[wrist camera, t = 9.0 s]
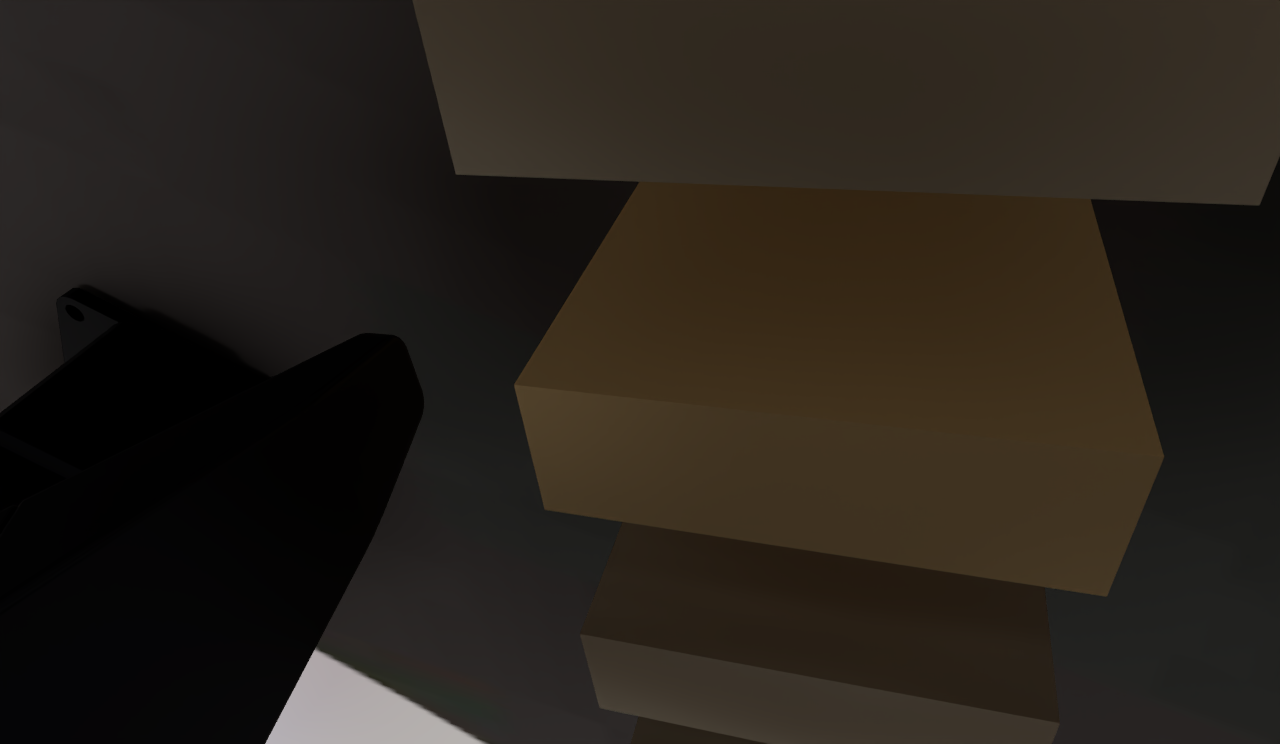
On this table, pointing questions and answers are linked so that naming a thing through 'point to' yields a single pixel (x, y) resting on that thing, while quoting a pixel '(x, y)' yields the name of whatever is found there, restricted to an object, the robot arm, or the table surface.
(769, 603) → the domino
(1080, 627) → the table surface
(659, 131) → the domino
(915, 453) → the domino
